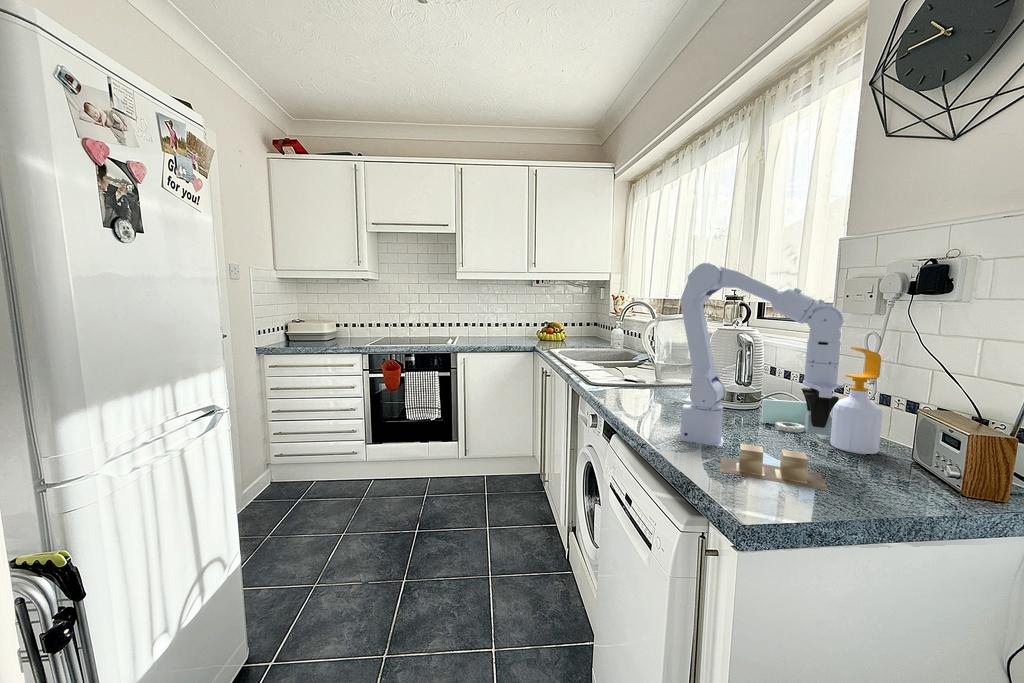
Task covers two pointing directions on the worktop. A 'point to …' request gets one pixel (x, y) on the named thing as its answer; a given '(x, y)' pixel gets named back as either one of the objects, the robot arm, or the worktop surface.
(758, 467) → the pillar
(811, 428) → the slate grey cube
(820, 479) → the board
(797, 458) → the tan wooden cube
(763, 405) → the right angle wall
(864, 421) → the soap bottle
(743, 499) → the worktop surface
